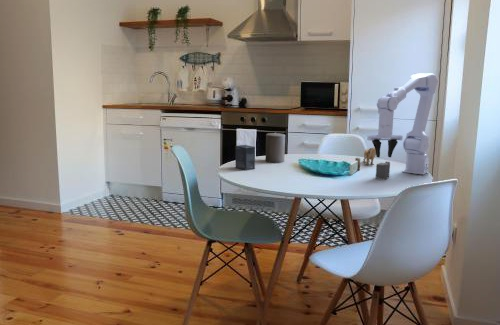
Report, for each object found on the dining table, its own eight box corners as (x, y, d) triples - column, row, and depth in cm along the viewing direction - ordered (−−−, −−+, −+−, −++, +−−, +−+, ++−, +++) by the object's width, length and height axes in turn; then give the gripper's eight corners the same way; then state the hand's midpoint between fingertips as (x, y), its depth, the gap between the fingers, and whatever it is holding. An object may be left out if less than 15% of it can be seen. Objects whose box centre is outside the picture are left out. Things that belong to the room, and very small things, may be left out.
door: (351, 174, 206) (352, 164, 205) (347, 174, 207) (347, 164, 206) (357, 170, 215) (357, 160, 214) (352, 170, 216) (353, 160, 215)
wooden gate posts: (390, 174, 209) (390, 161, 208) (388, 174, 207) (389, 162, 206) (356, 169, 219) (356, 157, 217) (354, 170, 217) (354, 158, 216)
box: (255, 169, 218) (255, 146, 216) (245, 170, 214) (245, 147, 212) (244, 166, 224) (244, 144, 222) (235, 167, 220) (235, 145, 218)
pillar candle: (263, 162, 234) (263, 132, 231) (268, 158, 243) (268, 130, 240) (282, 163, 231) (283, 133, 229) (286, 160, 241) (287, 131, 238)
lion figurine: (379, 166, 227) (380, 147, 225) (368, 166, 226) (369, 148, 224) (367, 160, 241) (368, 143, 239) (358, 160, 240) (358, 143, 239)
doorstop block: (389, 177, 203) (390, 163, 202) (384, 179, 199) (385, 165, 198) (380, 176, 205) (380, 162, 204) (375, 178, 201) (376, 164, 200)
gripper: (398, 124, 202) (396, 155, 205) (365, 124, 201) (364, 155, 204) (405, 126, 195) (403, 158, 198) (371, 126, 194) (369, 158, 197)
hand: (383, 157), depth 200 cm, fingers open, 4 cm apart
